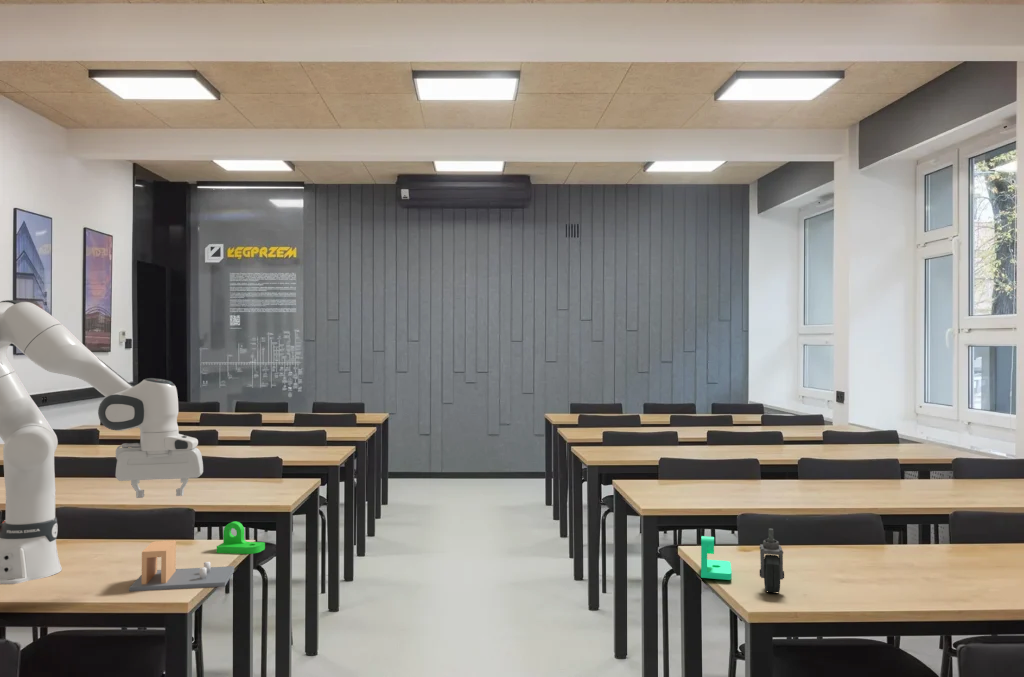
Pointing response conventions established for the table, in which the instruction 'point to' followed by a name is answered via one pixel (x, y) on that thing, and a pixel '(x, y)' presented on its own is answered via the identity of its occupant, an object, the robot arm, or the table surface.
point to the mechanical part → (238, 541)
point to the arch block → (167, 560)
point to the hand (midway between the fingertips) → (160, 496)
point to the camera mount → (713, 562)
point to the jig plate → (187, 579)
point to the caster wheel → (771, 563)
